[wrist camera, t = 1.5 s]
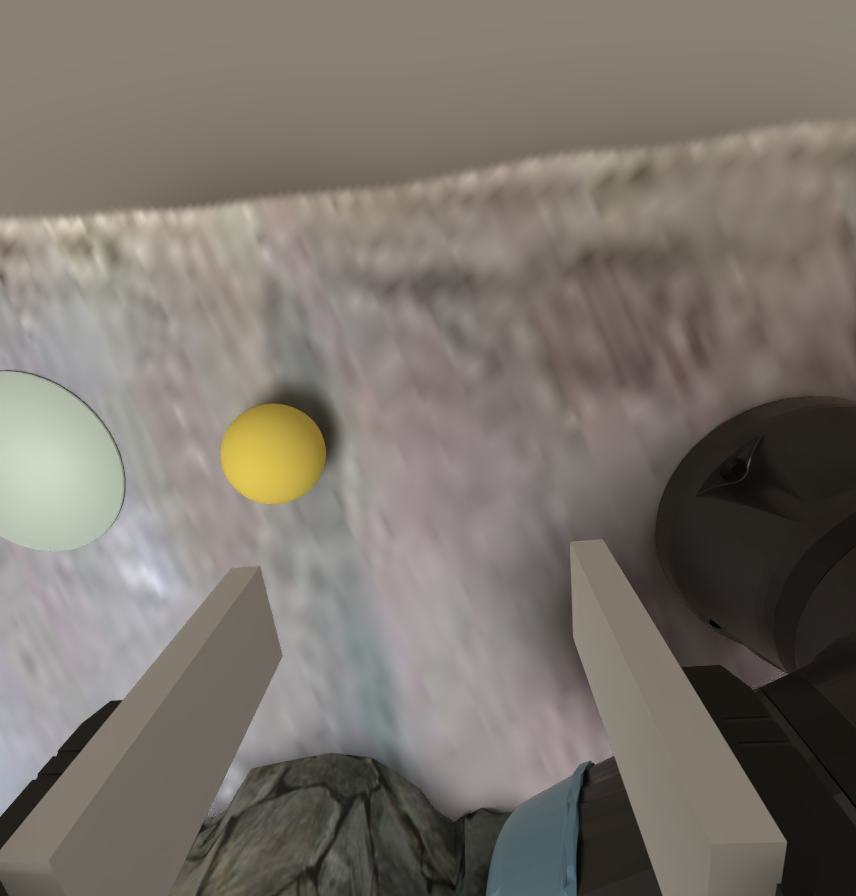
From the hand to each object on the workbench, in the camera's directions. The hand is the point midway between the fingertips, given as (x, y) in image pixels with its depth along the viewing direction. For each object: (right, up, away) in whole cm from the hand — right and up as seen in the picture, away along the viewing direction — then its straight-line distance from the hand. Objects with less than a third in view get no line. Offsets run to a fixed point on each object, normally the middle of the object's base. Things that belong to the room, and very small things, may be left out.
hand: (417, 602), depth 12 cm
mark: (-25, +3, +18) cm, 31 cm away
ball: (-8, +4, +14) cm, 17 cm away
